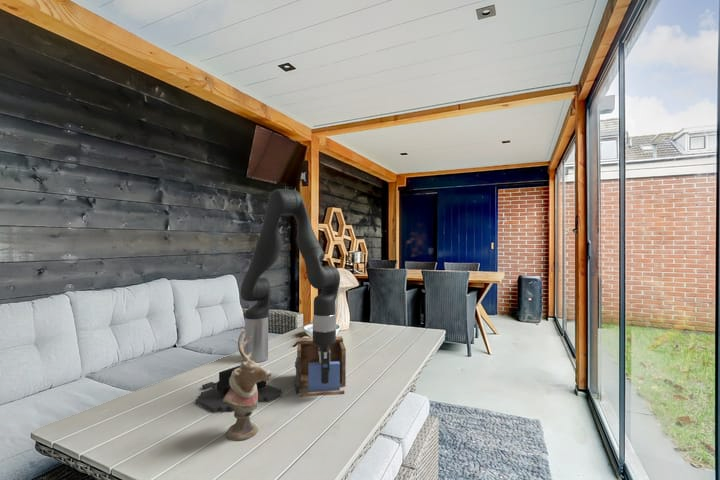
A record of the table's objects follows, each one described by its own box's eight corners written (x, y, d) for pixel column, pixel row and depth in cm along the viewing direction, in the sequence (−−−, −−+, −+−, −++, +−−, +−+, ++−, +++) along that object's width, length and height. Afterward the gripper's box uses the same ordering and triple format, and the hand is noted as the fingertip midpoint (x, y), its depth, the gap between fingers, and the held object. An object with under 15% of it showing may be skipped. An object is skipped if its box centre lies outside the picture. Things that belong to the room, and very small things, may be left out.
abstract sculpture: (182, 367, 110) (237, 352, 126) (181, 397, 110) (237, 377, 126) (228, 388, 95) (284, 367, 111) (227, 422, 95) (284, 396, 111)
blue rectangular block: (308, 393, 112) (308, 365, 112) (308, 390, 115) (308, 362, 115) (339, 391, 114) (339, 363, 114) (339, 388, 116) (339, 361, 116)
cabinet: (294, 396, 110) (294, 353, 110) (295, 375, 127) (296, 338, 127) (347, 393, 112) (347, 351, 112) (341, 373, 130) (341, 336, 130)
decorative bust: (279, 436, 85) (265, 332, 87) (224, 450, 82) (210, 342, 84) (279, 418, 96) (267, 326, 97) (230, 430, 93) (218, 335, 94)
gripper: (312, 323, 121) (311, 370, 121) (313, 334, 107) (312, 387, 107) (334, 322, 122) (333, 369, 122) (337, 333, 108) (337, 386, 108)
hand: (324, 377), depth 114 cm, fingers open, 8 cm apart
